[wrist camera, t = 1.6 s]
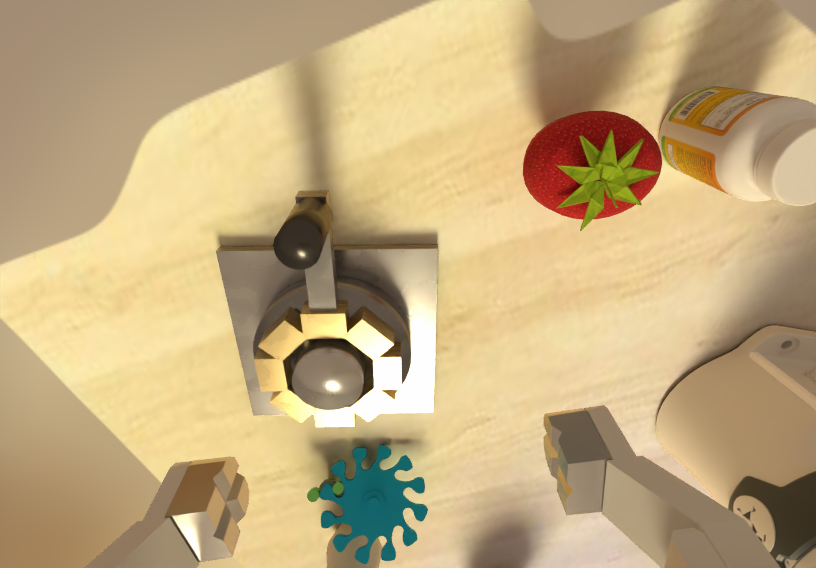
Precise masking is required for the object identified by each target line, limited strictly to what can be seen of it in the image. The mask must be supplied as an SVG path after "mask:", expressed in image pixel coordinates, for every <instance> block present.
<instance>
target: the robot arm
mask: <svg viewBox="0 0 816 568" xmlns="http://www.w3.org/2000/svg"><path fill="white" fill-rule="evenodd" d="M544 427H545V430H546V432H547V434H546V435H545V436H544V449H545V455H546V460H547V463H548V467H549V470H550V472H551V475H552V476H553V477H555V478H556V479H557V491H558V494H559V497H560V499H561V502H562V504H563V507H564V510H565V512H566V515H573V514H583V513H594V512H602V514H603V515H604V516H605V517H606V518H608V519H609V520H610V521H611V522H612V523H613V524H614V525H615V526H616V527H617V528H618V529H620V530H621V531H622V532H623V533H624V534H625V535H626V536H627V537H628V538H629V539H630V540H632V541H633V542H634V543H635V544H636V545H637V546H638V547H639V548H640V549H641V550H642V551H644V552H645V553H646V554H647V555H648V556H649V557H650V558H651V559H652V560H653V561H655V562H656V563H657V564H658V565H659V566H660V567H661V568H816V332H814V331H808V330H802V329H796V328H790V327H784V326H777V325H771V326H767V327H765V328H762V329H761V330H759V331H758V332H756V333H755V334H753V335H752V336H751V337H750V338H748V339H747V340H746V341H745V342H743V343H742V344H741V345H740V346H739V347H738V348H736V349H735V350H733V351H731V352H729V353H727V354H725V355H723V356H721V357H719V358H717V359H714V360H712V361H710V362H708V363H706V364H705V365H703V366H701V367H700V368H698V369H696V370H695V371H693V372H692V373H691V374H689V375H688V376H687V377H685V378H684V379H683V380H682V381H681V382H680V383H679V384H678V385H677V386H676V387H675V388H674V389H673V390H672V391H671V392H670V394H669V395H668V396H667V398H666V399H665V401H664V402H663V404H662V406H661V408H660V410H659V413H658V416H657V421H656V433H657V437H658V440H659V442H660V444H661V445H662V447H663V448H664V449H665V450H666V451H667V452H668V453H669V454H671V455H672V456H673V457H674V458H675V459H676V460H678V461H679V462H680V463H681V464H682V465H683V466H684V467H685V468H686V469H687V470H688V471H689V472H690V473H691V474H692V475H693V476H694V477H695V478H696V479H697V480H698V481H699V483H700V484H701V485H702V486H703V487H704V488H705V489H706V490H707V491H708V492H709V494H710V495H711V496H712V497H713V498H714V499H715V500H716V501H714V500H713V499H711V498H709V497H708V496H706V495H705V494H703V493H701V492H700V491H698V490H697V489H695V488H693V487H692V486H690V485H689V484H687V483H685V482H684V481H682V480H681V479H679V478H677V477H676V476H674V475H673V474H671V473H669V472H668V471H666V470H665V469H663V468H661V467H660V466H658V465H657V464H655V463H653V462H652V461H650V460H649V459H647V458H645V457H644V456H636V455H635V453H634V452H633V450H632V448H631V447H630V445H629V443H628V442H627V440H626V438H625V437H624V435H623V433H622V432H621V430H620V428H619V427H618V425H617V423H616V422H615V420H614V418H613V417H612V415H611V413H610V412H609V410H608V408H607V407H605V406H604V405H603V406H596V407H589V408H584V409H582V408H581V409H574V410H568V411H561V412H554V413H547V414H545V415H544ZM238 467H239V465H238V463H237V461H236V459H235V458H234V457H223V458H214V459H204V460H195V461H189V462H180V463H175V464H174V465H173V466H172V467H170V469H169V471H168V473H167V475H166V477H165V478H164V480H163V482H162V484H161V486H160V488H159V490H158V492H157V494H156V496H155V498H154V500H153V502H152V504H151V505H150V508H149V509H148V511H147V513H146V515H145V517H144V519H143V521H138V522H136V523H135V524H134V525H132V526H131V527H130V528H129V529H128V530H127V531H126V532H124V533H123V534H122V535H121V536H120V537H119V538H118V539H116V540H115V541H114V542H113V543H112V544H111V545H110V546H108V547H107V548H106V549H105V550H104V551H103V552H102V553H101V554H99V555H98V556H97V557H96V558H95V559H94V560H93V561H92V562H90V563H89V564H88V565H87V566H86V567H85V568H197V567H198V565H199V563H198V562H204V561H210V560H217V559H223V558H230V557H232V556H233V553H234V550H235V547H236V543H237V540H238V537H239V534H240V530H239V527H238V525H237V523H238V522H239V521H240V520H241V519H242V518H243V517H244V516H245V514H246V510H247V507H248V501H249V489H248V484H247V482H246V479H245V477H243V476H242V475H240V474H238V473H237V470H238Z"/></svg>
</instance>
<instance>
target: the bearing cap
mask: <svg viewBox="0 0 816 568" xmlns="http://www.w3.org/2000/svg"><path fill="white" fill-rule="evenodd" d="M216 253H217V258H218V262H219V267H220V271H221V275H222V280H223V284H224V288H225V293H226V297H227V302H228V306H229V310H230V315H231V319H232V324H233V328H234V332H235V337H236V341H237V345H238V350H239V354H240V359H241V363H242V367H243V372H244V376H245V381H246V385H247V389H248V394H249V398H250V402H251V407H252V411H253V415H288V414H286V413H284V412H283V411H281V410H280V409H278V408H277V407H275V406H273V405H272V404H270V403H269V402H270V400H271V397H272V394H273V391H272V392H261V390H260V386H259V381H258V376H257V371H256V367H255V362H254V358H255V356H256V354H257V351H258V349H259V347H258V345H259V343H260V341H261V339H262V336H263V334H264V332H265V331H266V330H267V329H268V328H269V327H270V326H271V325H272V324H273V323H274V322H275V321H276V320H277V319H278V318H279V317H280V316H281V315H282V314H283V313H284V312H285V311H286V310H287V309H288V308H289V307H292V308H293V309H294V310H296V311H297V312H298V313H300V314H301V311H302V308H303V305H304V302H305V301H309V300H308V292H307V284H306V276H305V269H304V270H296V269H292V268H289V267H287V266H285V265H284V264H282V263H281V262H280V261H279V260H278V258H277V257H276V255H275V252H274V247H273V246H240V247H219V248H218V250H217V251H216ZM334 255H335V266H336V277H337V288H338V299H339V300H348V309H349V319H350V318H351V317H352V316H353V315H354V314H355V313H356V312H357V311H358V310H360V309H361V308H362V307H363V306H365V307H367V308H368V309H369V310H370V311H372V312H373V313H374V314H375V315H377V316H378V317H379V318H380V319H382V320H383V321H384V322H385V323H387V324H388V325H389V326H390V327H392V328H393V329H394V342H401V389H396V401H395V402H393V403H392V404H391V405H389V406H388V407H387V408H386V409H384V410H383V411H382V412H381V413H423V412H433V404H434V371H435V339H436V307H437V275H438V244H413V245H334ZM290 360H291V367H292V373H293V376H292V386H293V389H294V392H295V393H296V395H297V396H298V397H299V398H300V399H301V400H302V401H303V402H304V403H306V404H308V405H309V406H312V407H314V408H317V409H321V410H338V409H342V408H345V407H348V406H350V405H351V404H353V403H354V402H355V401H356V400H357V399H358V398H359V397H360V395H361V393H362V390H363V383H364V381H365V380H367V379H368V378H369V377H370V376H371V375H373V374H374V370H373V359H372V358H370V357H369V356H368V355H366V354H365V353H364V352H362V351H361V350H360V349H358V348H357V347H356V346H354V345H353V344H352V343H350V342H349V341H348V340H346V339H345V338H328V339H306V340H304V341H303V342H302V343H301V344H300V345H299V346H298V347H297V348H296V349H295V350H294V351H293V352H292V353H291V354H290ZM312 414H314V412H313V413H312Z"/></svg>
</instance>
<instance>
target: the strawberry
mask: <svg viewBox="0 0 816 568" xmlns="http://www.w3.org/2000/svg"><path fill="white" fill-rule="evenodd" d="M661 166H662V157H661V151H660V148H659V146H658V143H657V142H656V140H655V139H654V138H653V136H652V135H651V134H650V133H649V132H648V131H647V130H646V129H645V128H644V127H643V126H642V125H641V124H639V123H638V122H637V121H635V120H633V119H631V118H630V117H628V116H625V115H622V114H619V113H615V112H608V111H588V112H583V113H578V114H573V115H570V116H566V117H563V118H561V119H558V120H556V121H554V122H552V123H550V124H549V125H547V126H545V127H544V128H543V129H542V130H541V131H539V132H538V133H537V134H536V136H535V137H534V138H533V139H532V140H531V142H530V144H529V146H528V148H527V150H526V154H525V157H524V163H523V176H524V181H525V185H526V187H527V189H528V191H529V192H530V194H531V195H532V196H533V197H534V198H535V200H536V201H538V202H539V203H540V204H542V205H543V206H544V207H546V208H548V209H550V210H552V211H554V212H556V213H559V214H561V215H563V216H567V217H570V218H575V219H584V220H583V223H582V226H581V229H580V231H581V230H582V229H583V228H584V227H585V226H586V225H587V224H588V223H589V222H590V221H591V220H592V219H600V218H605V217H610V216H613V215H616V214H619V213H621V212H623V211H625V210H627V209H629V208H631V207H633V206H634V205H636V204H638V205H641V202H640V201H641V200H642V199H643V198H644V197H645V196H646V195H647V194H648V193H649V192H650V191H651V190H652V188H653V187H654V185H655V184H656V182H657V180H658V177H659V175H660V172H661Z"/></svg>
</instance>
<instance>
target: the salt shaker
mask: <svg viewBox="0 0 816 568" xmlns="http://www.w3.org/2000/svg"><path fill="white" fill-rule="evenodd" d="M351 532H352V528H351V526H350V525H347V524H342V523H341V525H340V526H339V528H338V529H337V531H336V532H335V533H334V535H333V536H332V538H331V539H330V541H329V543H328V547H327V553H326V554H327V568H379V563H380V558H381V550H382V545H381V543H380V541H379V539H378V538H377V539H376V540H375V541H374V543H373V544H372V546H371V549H370V558H369V561H368V563H367V564H362V563H360V562H359V561H357V560H356V559H355V553H356V551H357V549H358V548H359V547H362V546H364V545H366V544H367V543H368V539H367V537H366V536H364V535H362V536H359V537H356V538H354V539H353V540H351V541H350V542H349V543H348V545H347V546H346V548H345V549H344V551H342V552H338V551H337V550H336V548H335V547H334V544H333V539H334V537H335V536H336V535H337V534H344V535H349V534H350V533H351Z"/></svg>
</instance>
